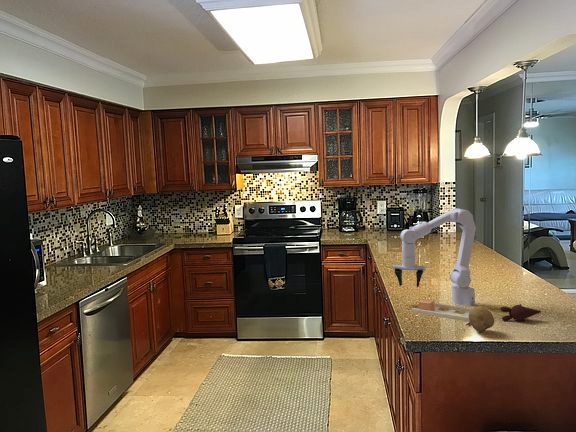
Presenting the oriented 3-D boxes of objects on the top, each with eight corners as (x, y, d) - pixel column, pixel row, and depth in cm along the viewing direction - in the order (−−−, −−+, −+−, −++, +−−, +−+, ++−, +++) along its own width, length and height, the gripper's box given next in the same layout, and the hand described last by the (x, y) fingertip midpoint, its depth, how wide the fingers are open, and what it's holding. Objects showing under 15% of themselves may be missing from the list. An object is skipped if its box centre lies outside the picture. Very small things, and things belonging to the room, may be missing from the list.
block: (434, 310, 208) (434, 300, 208) (429, 313, 204) (429, 303, 204) (423, 309, 211) (423, 299, 211) (418, 312, 208) (418, 301, 207)
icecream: (537, 302, 197) (498, 305, 200) (541, 302, 190) (501, 305, 193) (540, 319, 196) (500, 322, 199) (544, 320, 189) (504, 323, 192)
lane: (483, 317, 201) (483, 309, 201) (472, 325, 191) (471, 317, 191) (425, 307, 218) (424, 300, 218) (411, 315, 208) (411, 307, 208)
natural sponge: (488, 327, 188) (487, 302, 187) (498, 335, 180) (498, 309, 179) (465, 329, 188) (464, 304, 187) (474, 336, 179) (474, 310, 178)
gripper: (426, 255, 217) (427, 284, 218) (394, 254, 223) (395, 282, 224) (423, 258, 210) (424, 288, 212) (390, 256, 217) (391, 286, 218)
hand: (409, 286), depth 217 cm, fingers open, 7 cm apart
